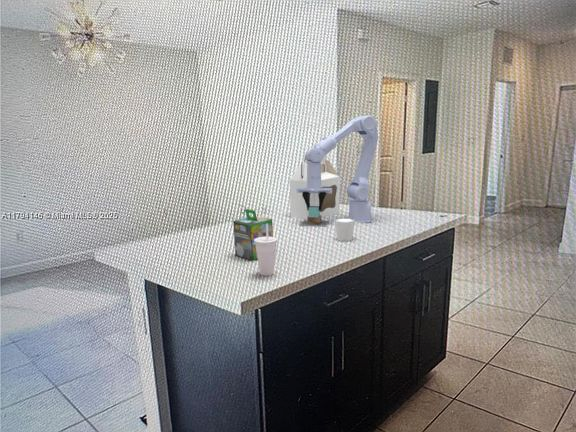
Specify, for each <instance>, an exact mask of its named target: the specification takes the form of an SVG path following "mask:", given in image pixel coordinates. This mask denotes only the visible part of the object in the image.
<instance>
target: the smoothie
mask: <svg viewBox="0 0 576 432" xmlns="http://www.w3.org/2000/svg"><path fill="white" fill-rule="evenodd" d="M254 244H255V245H256V252H257V258H258V259H257V263H258V264H257V265H258V269H259V274H260V275H261V276H265V277H266V276H272V275H274V274H275V273H274V271H275V262H276V251H277V244H278V238H277V237H275V236H273V237H268V224H266V237H258V238H256V239H254Z"/></svg>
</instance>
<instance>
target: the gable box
mask: <svg viewBox="0 0 576 432" xmlns="http://www.w3.org/2000/svg"><path fill="white" fill-rule="evenodd" d="M297 188H307V160H306V159H305V158H304V161H302V162H301V163H299V165H298V167H297V169H295V172H294V173H293V175H292V176H291V177H290V179H289V194H290V195H289V197H290V198H289V200H290V209H289V210H290V218H294V219H302V220H303V219H304V220H307V217H308V216H309V211H308V210H307V206H306V203H305V200H304V198H303V196H302V194H303V193H297ZM321 188H332V193H326V196H325V198H324V201H323V204H322V209H321V211H320V215H321V219H323V218H326V217H328V216H332V215H336V214H339V213H340V175H339V174H338V172H337V171H336V170H335V168H334V167H333V165H332V164H331V162H330V161H329V160H328V155H325V156H324V157H323V159H322V161H321ZM310 192H319V191H310ZM319 194H320V193H310V206H319Z"/></svg>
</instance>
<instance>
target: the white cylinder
mask: <svg viewBox="0 0 576 432" xmlns="http://www.w3.org/2000/svg"><path fill="white" fill-rule="evenodd" d="M334 221H335V230H336V231H335V232H336V240H337V241H340V242H350V240H351V241H353V239H354V230H355V222H354V220H353V219H348V218H337V219H335V220H334Z"/></svg>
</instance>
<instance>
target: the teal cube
mask: <svg viewBox="0 0 576 432" xmlns="http://www.w3.org/2000/svg"><path fill="white" fill-rule="evenodd" d="M319 216H320V211H319V206H310V207H309V217H316V218H318V217H319Z"/></svg>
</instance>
